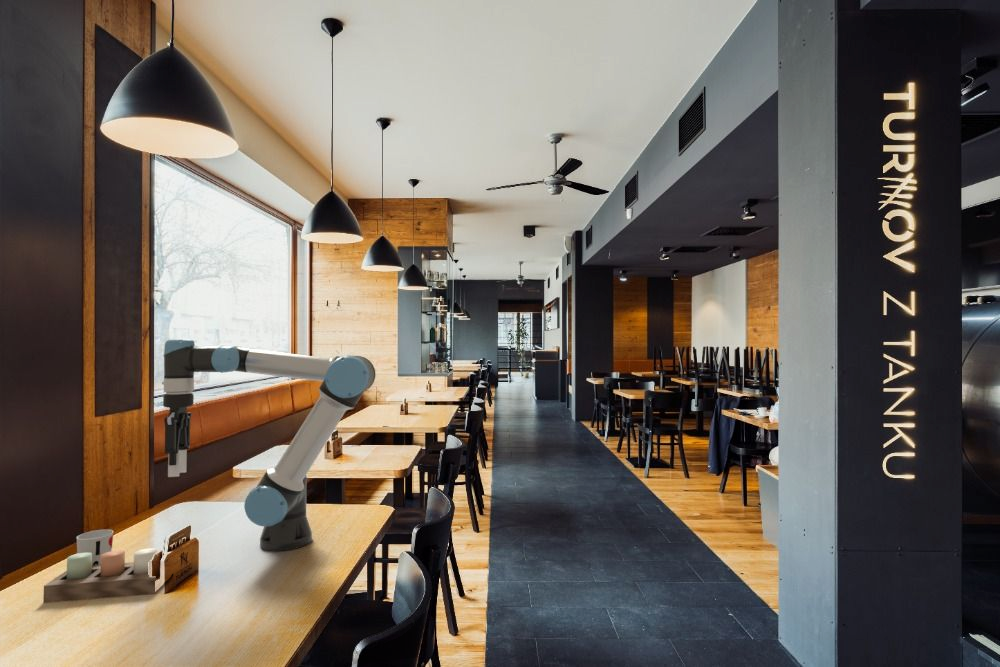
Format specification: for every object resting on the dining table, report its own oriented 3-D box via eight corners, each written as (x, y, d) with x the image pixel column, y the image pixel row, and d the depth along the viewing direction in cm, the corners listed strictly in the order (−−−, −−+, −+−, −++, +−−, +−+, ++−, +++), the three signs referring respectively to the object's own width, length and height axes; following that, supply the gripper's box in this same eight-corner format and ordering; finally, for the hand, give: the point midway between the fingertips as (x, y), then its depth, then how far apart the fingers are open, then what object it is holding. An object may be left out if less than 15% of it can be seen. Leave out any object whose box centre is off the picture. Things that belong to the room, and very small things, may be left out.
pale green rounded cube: (95, 571, 140) (96, 551, 140) (84, 579, 135) (85, 559, 135) (73, 573, 139) (74, 553, 139) (62, 581, 134) (62, 560, 134)
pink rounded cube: (128, 569, 141) (128, 549, 142) (118, 577, 136) (119, 556, 137) (106, 570, 140) (107, 551, 141) (96, 578, 136) (96, 558, 136)
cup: (92, 578, 144) (93, 540, 144) (67, 576, 146) (68, 538, 146) (120, 566, 152) (120, 530, 152) (95, 564, 154) (96, 528, 154)
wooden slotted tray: (173, 574, 146) (173, 559, 147) (154, 594, 135) (154, 577, 135) (72, 582, 142) (72, 566, 142) (43, 602, 130) (43, 585, 130)
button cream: (160, 566, 143) (160, 547, 143) (151, 574, 138) (152, 554, 138) (138, 568, 142) (139, 549, 142) (129, 576, 137) (130, 556, 137)
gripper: (176, 391, 165) (175, 468, 164) (151, 395, 148) (149, 482, 147) (203, 390, 167) (202, 467, 166) (181, 395, 149) (179, 480, 149)
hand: (177, 474), depth 157 cm, fingers open, 4 cm apart
